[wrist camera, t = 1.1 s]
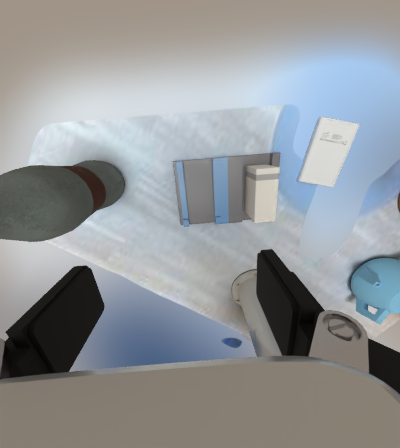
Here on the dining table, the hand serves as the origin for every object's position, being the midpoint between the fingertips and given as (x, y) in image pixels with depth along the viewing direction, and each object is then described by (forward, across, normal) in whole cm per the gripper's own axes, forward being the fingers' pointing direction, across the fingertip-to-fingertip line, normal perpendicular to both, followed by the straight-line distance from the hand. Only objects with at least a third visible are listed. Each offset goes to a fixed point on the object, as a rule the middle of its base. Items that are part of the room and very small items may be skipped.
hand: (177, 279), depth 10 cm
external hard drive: (+33, -29, -4) cm, 44 cm away
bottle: (+32, +18, -2) cm, 37 cm away
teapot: (+32, -48, +29) cm, 65 cm away
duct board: (+32, -8, +2) cm, 33 cm away
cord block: (+31, -14, +2) cm, 34 cm away
